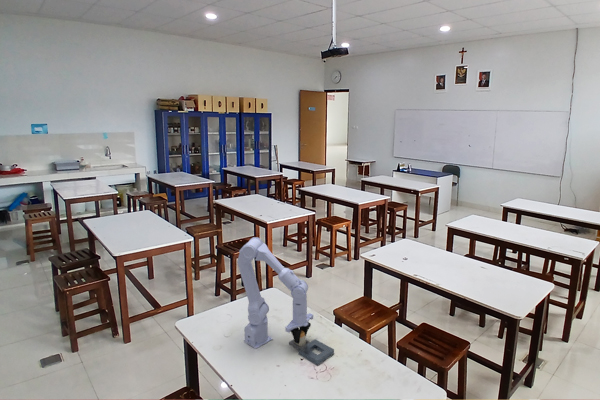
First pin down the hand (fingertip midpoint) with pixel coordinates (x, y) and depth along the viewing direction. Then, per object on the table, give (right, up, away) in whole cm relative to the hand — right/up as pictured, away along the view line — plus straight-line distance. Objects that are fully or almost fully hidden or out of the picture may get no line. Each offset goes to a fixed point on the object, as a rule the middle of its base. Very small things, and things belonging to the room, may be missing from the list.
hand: (299, 340), depth 158 cm
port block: (+6, -3, -6) cm, 9 cm away
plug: (0, -2, 0) cm, 2 cm away
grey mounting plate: (0, -2, 0) cm, 2 cm away
